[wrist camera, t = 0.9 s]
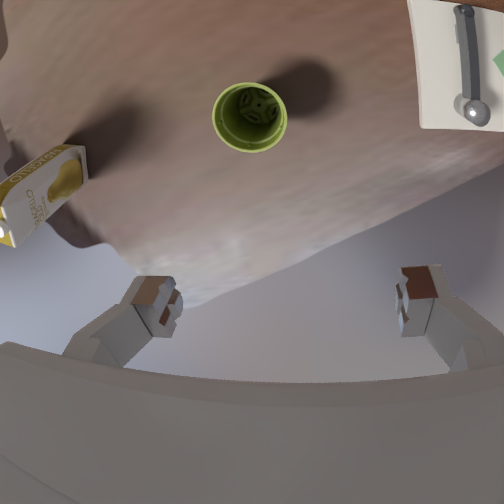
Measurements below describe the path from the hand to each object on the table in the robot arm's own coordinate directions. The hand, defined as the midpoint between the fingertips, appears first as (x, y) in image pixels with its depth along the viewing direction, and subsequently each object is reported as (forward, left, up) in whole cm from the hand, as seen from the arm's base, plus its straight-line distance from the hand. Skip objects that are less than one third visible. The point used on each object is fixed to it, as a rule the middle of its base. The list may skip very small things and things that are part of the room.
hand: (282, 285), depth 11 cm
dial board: (-4, +26, -40) cm, 47 cm away
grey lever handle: (-5, +24, -38) cm, 45 cm away
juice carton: (+3, -44, -40) cm, 60 cm away
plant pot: (+1, -7, -40) cm, 40 cm away
